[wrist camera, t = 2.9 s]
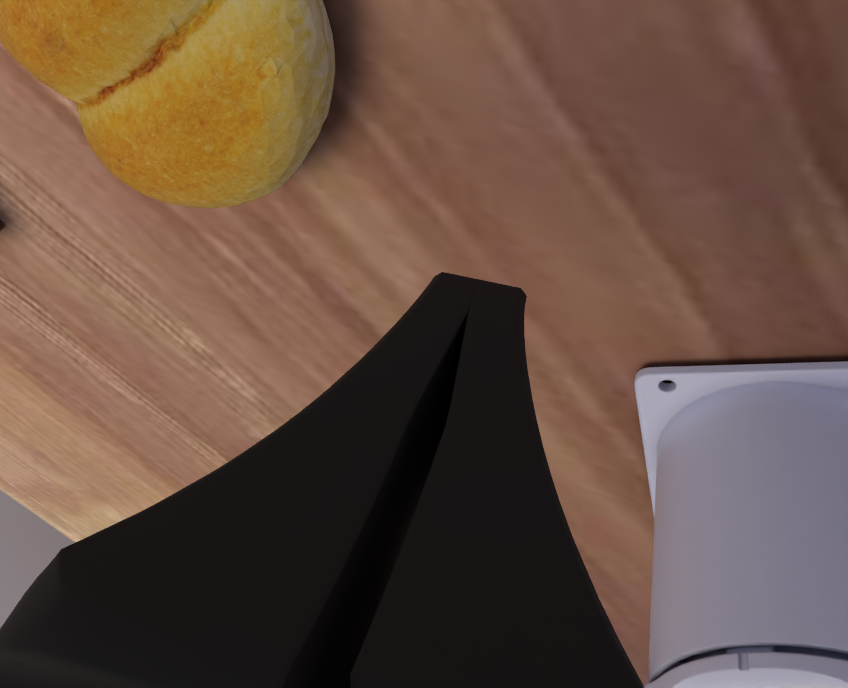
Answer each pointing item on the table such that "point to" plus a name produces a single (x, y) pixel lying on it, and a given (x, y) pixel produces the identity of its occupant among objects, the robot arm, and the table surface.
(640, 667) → the table surface
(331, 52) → the bread roll
